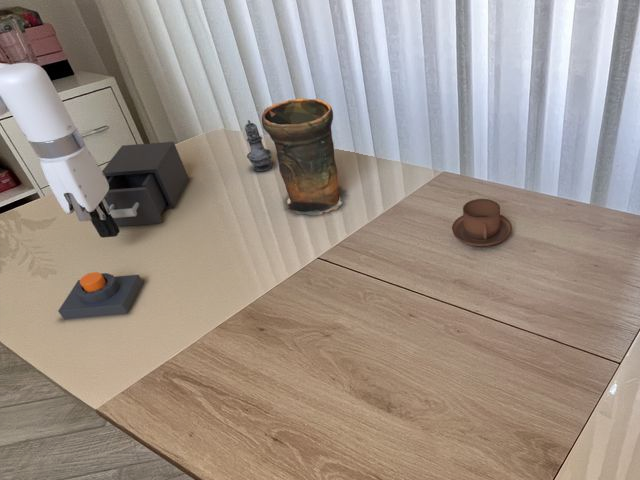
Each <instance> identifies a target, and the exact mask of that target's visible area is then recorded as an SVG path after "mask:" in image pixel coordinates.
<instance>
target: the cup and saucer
mask: <svg viewBox="0 0 640 480" xmlns="http://www.w3.org/2000/svg"><path fill="white" fill-rule="evenodd" d="M451 231H452V234H453V235H454V237H455V238H456V239H457V240H458V241H460V242H462V243H463V244H466V245H468V246H473V247H490V246H494V245H496V244H499V243H501V242H503V241H504V240H506V239H507V238H508V237H509V236H510V234H511V232H512V223H511V221H510V220H509V219H508V218H507V217H505V216H504V215H502V214H501V206H500V204H499V203H498V202H497V201H495V200H493V199H489V198H475V199H472V200H469V201H467V202H465V204H464V205H463V207H462V215H461V216H459V217H457V218H456V219H455V221H454V222H453V223H452V227H451Z"/></svg>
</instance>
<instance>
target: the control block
mask: <svg viewBox="0 0 640 480" xmlns="http://www.w3.org/2000/svg"><path fill="white" fill-rule="evenodd" d="M100 273H101V272H100ZM101 274H102V276H103V277H104V279H105V281H106V285H105V286H104V287H102V288H101V289H98V290H96V291H91V292H87V291H85V290H84V288H83V287H82V285H81V284H80V279H78V280H77V281H76V283H75V284H74V286H73V287H72V289H71V290H70V292H69V293H68V295H67V297H66V298H65V299H64V301H63V302H62V304H61V306H60V307H59V309H58V311H57V312H58V313H59V314H60V316H61V317H62V319H63V320H74V319H86V318H97V317H107V316H119V315H128V314H129V313H130V311H131V309H132V306H133V304H134V303H135V300H136V299H137V296H138V295H139V293H140V291H141V289H142V287H143V285H144V281H143V280H142V278H141V276H140V275H139V274H131V275H119V276H117V275H116V276H114V275H113V274H111V273H107V272H104V273H103V272H102V273H101Z"/></svg>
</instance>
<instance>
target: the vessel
mask: <svg viewBox="0 0 640 480" xmlns="http://www.w3.org/2000/svg"><path fill="white" fill-rule="evenodd" d="M333 120H334V112H333V108H332V106H331V105H330V103H328V102H326V101H324V100H321V99H317V98H312V99H311V98H310V99H309V98H304V97H303V98H295V99H290V100H285V101H282V102H278V103H274V104H272V105H270V106H267V107H265V109H264V110H263V113H262V115H261V125H262V128H263V130H264V131H265V132H266V133H267V134H268V135H269V137H270V139H271V140H272V141H273V143H274V147H275V152H276V158H277V162H278V169H279V170H278V171H279V174H280V176H281V178H282V180H283V183H284V186H285V189H286V193H287V195H288V198H287V200H286V202H287V205H288V210H290V211H291V212H292V213H294V214H297V215H306V216H312V217H313V216H319V215H322V214H323V213H330V211H335V210H338V209H339V208H340V206H341V205H342V204H343V201H341V200H342V198H341V195H340V193H339V181H338V178H339V177H338V176H339V172H338V168H337V165H336V157H335V146H334V140H333V132H332V125H333Z"/></svg>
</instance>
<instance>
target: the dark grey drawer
mask: <svg viewBox="0 0 640 480" xmlns="http://www.w3.org/2000/svg"><path fill="white" fill-rule="evenodd" d="M107 182H108V184H109V190H108V195H107V198H106V202H107V204H108V206H109V209H110V213H109V214H111V216H112V217H113V219H114V221H115V223H116V225H117V226H118V227H126V226H127V227H128V226H139V225H150V224H160V223H162V221H163V218H162V216H161V215H162V214H163V212H164V210H165V209H164V208H165V206H166V204H167V200H166V197H165V195H164V193H163V191H162V189H161V187H160V184H159V182H158V180H157V178H156V176H155V174H154V173H143V174H130V175H117V176H110V177H109V179H108V180H107Z"/></svg>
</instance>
